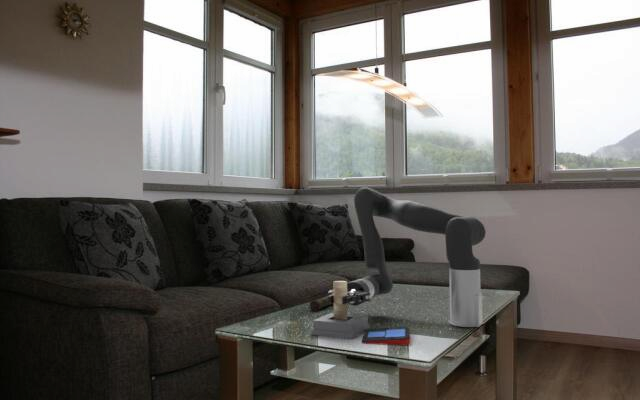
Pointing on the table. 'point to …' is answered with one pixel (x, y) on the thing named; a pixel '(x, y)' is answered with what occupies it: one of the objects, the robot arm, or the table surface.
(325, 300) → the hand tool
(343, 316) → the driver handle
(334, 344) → the table surface
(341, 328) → the tool holder
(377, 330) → the game console
